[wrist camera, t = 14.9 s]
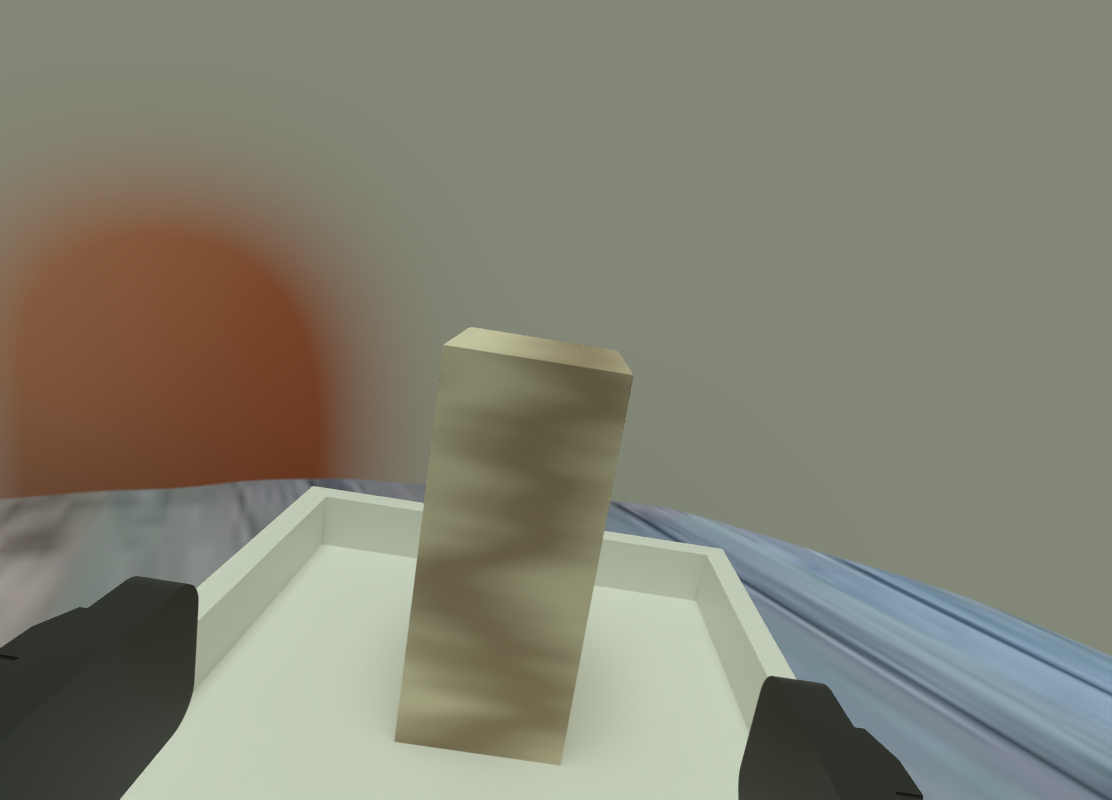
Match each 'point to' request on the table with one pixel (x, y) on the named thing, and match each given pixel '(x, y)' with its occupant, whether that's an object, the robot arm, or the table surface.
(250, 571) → the tray
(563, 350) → the block
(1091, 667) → the table surface
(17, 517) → the table surface
